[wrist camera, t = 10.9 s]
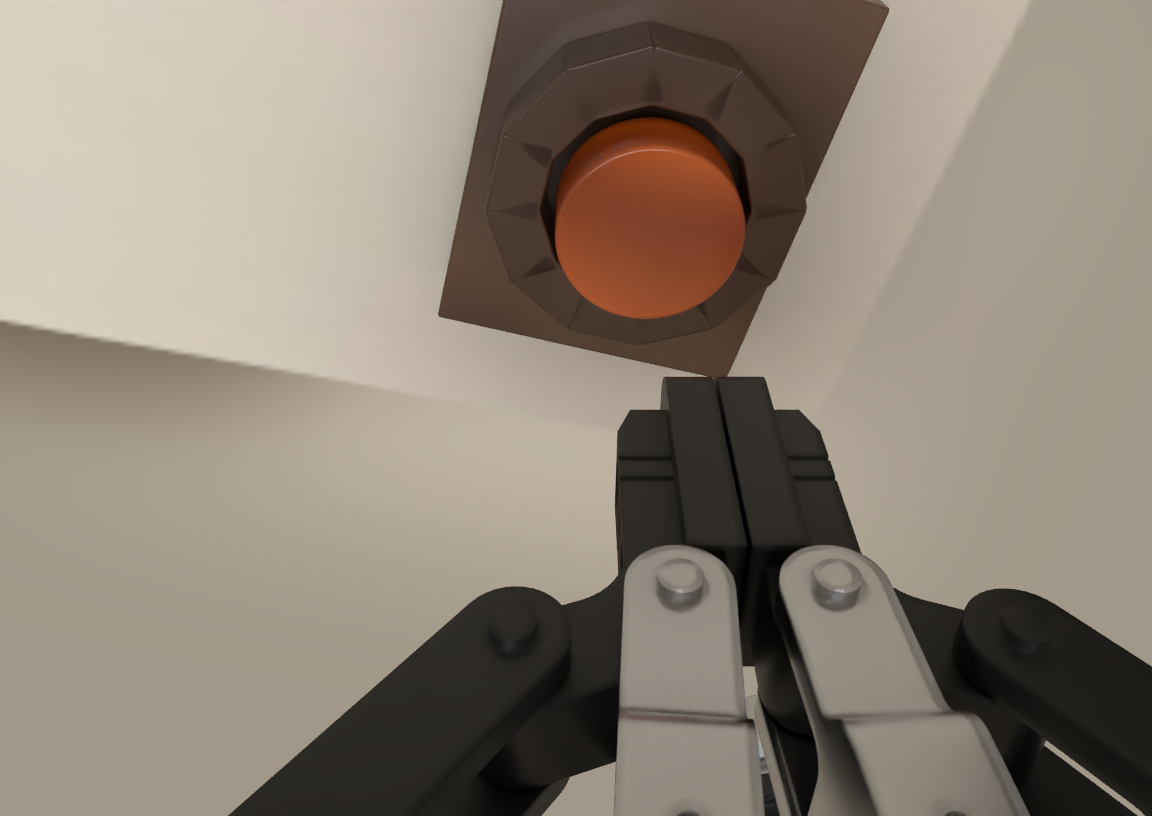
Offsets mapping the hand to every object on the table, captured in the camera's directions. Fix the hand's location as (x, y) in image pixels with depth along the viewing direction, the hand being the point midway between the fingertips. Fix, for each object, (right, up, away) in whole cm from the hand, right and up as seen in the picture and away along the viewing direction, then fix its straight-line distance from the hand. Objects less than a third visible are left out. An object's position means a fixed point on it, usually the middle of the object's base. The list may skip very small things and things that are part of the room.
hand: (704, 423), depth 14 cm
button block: (0, +7, +10) cm, 12 cm away
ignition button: (0, +5, +7) cm, 8 cm away
